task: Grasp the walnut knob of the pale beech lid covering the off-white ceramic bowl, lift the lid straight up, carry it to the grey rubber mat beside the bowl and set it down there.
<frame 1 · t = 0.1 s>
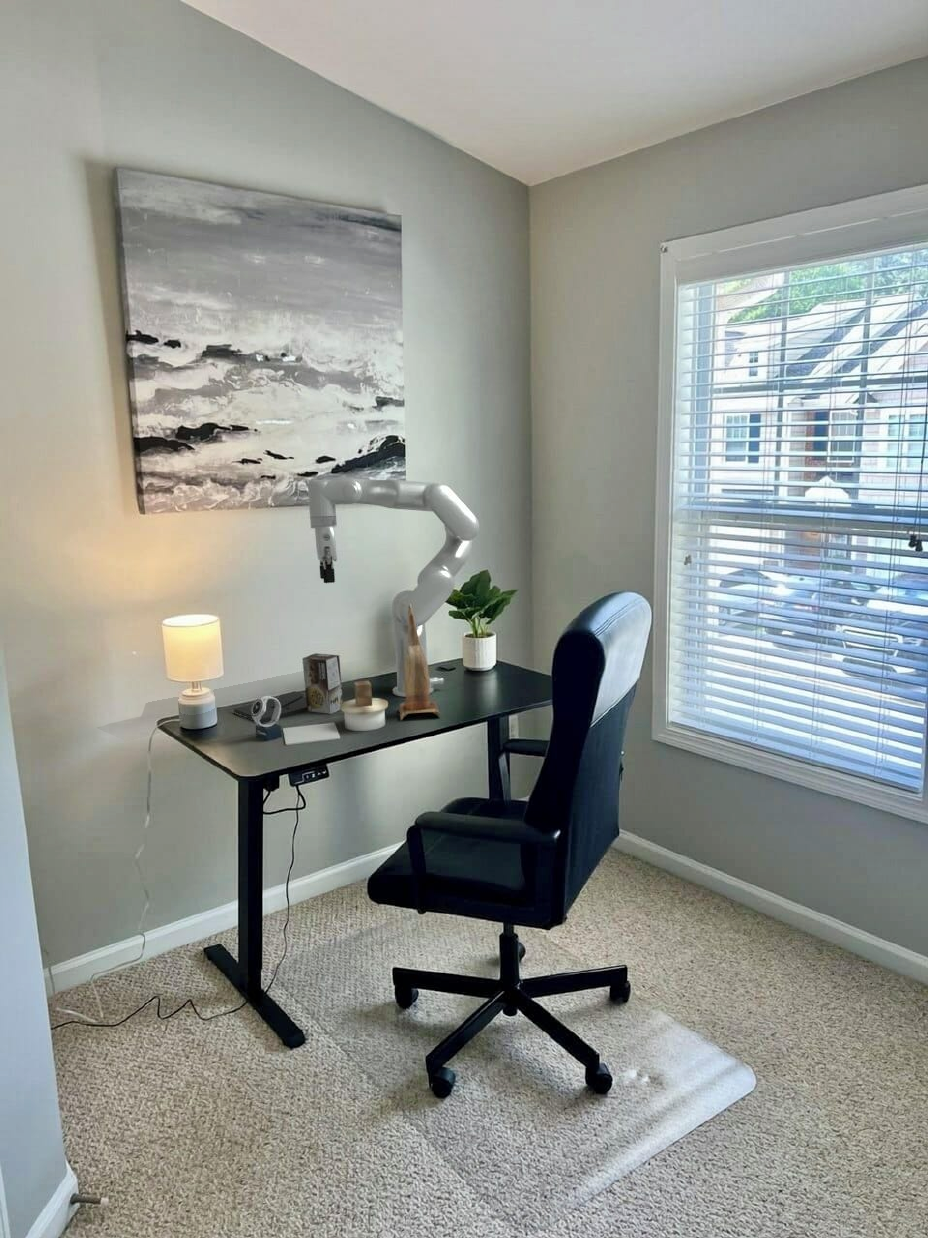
hand: (327, 580, 263), 37 cm above the table, tool pointing down, fingers open, 9 cm apart
watch: (268, 737, 238), on the table
lid: (364, 707, 244), point 5 cm above the table, touching bowl
bowl: (365, 724, 245), on the table
tan tower model: (419, 715, 252), on the table
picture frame: (279, 713, 263), on the table
mat: (311, 734, 238), on the table
coffee box: (325, 710, 261), on the table
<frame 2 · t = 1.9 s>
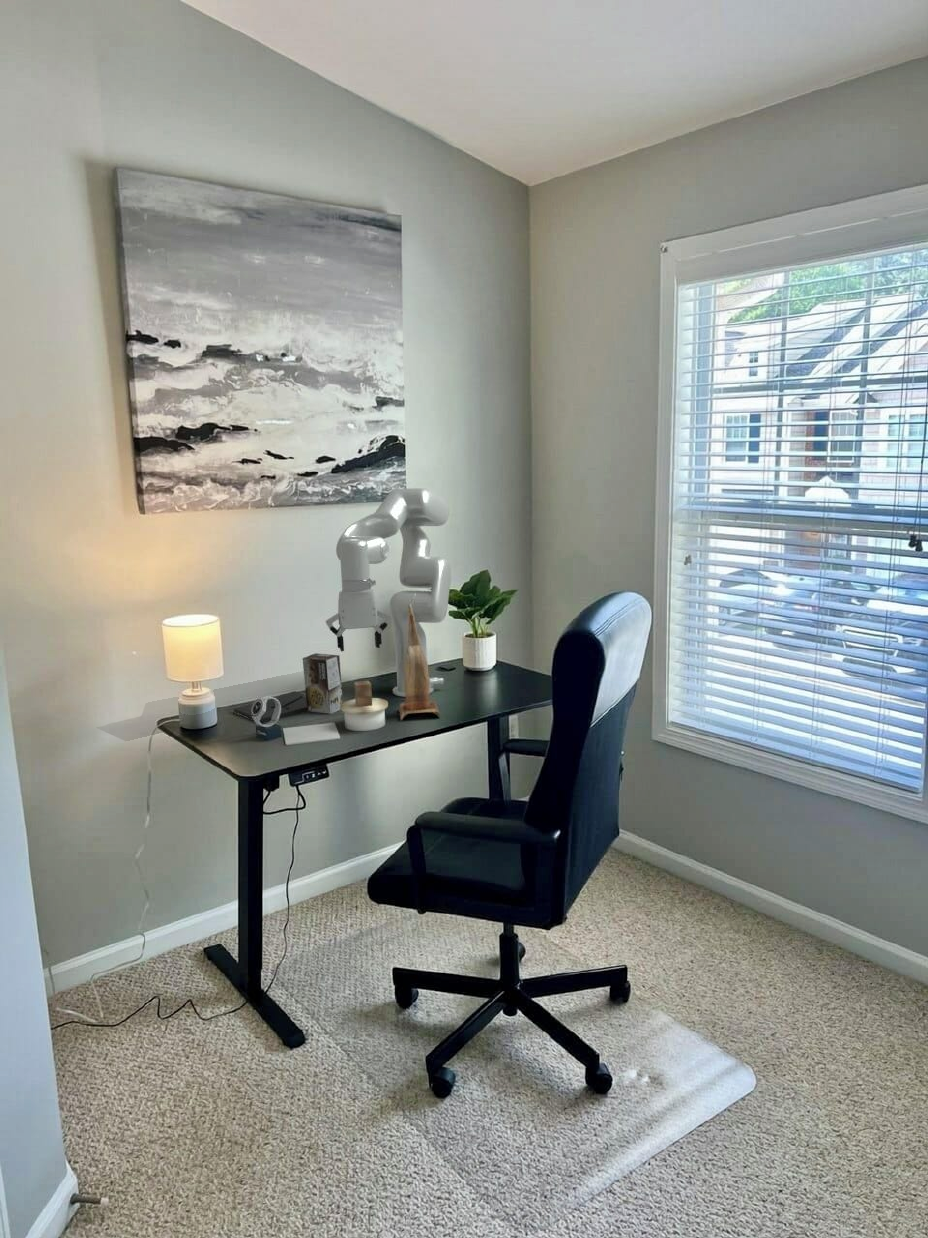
hand: (359, 648, 241), 21 cm above the table, tool pointing down, fingers open, 9 cm apart
nothing on the table moved.
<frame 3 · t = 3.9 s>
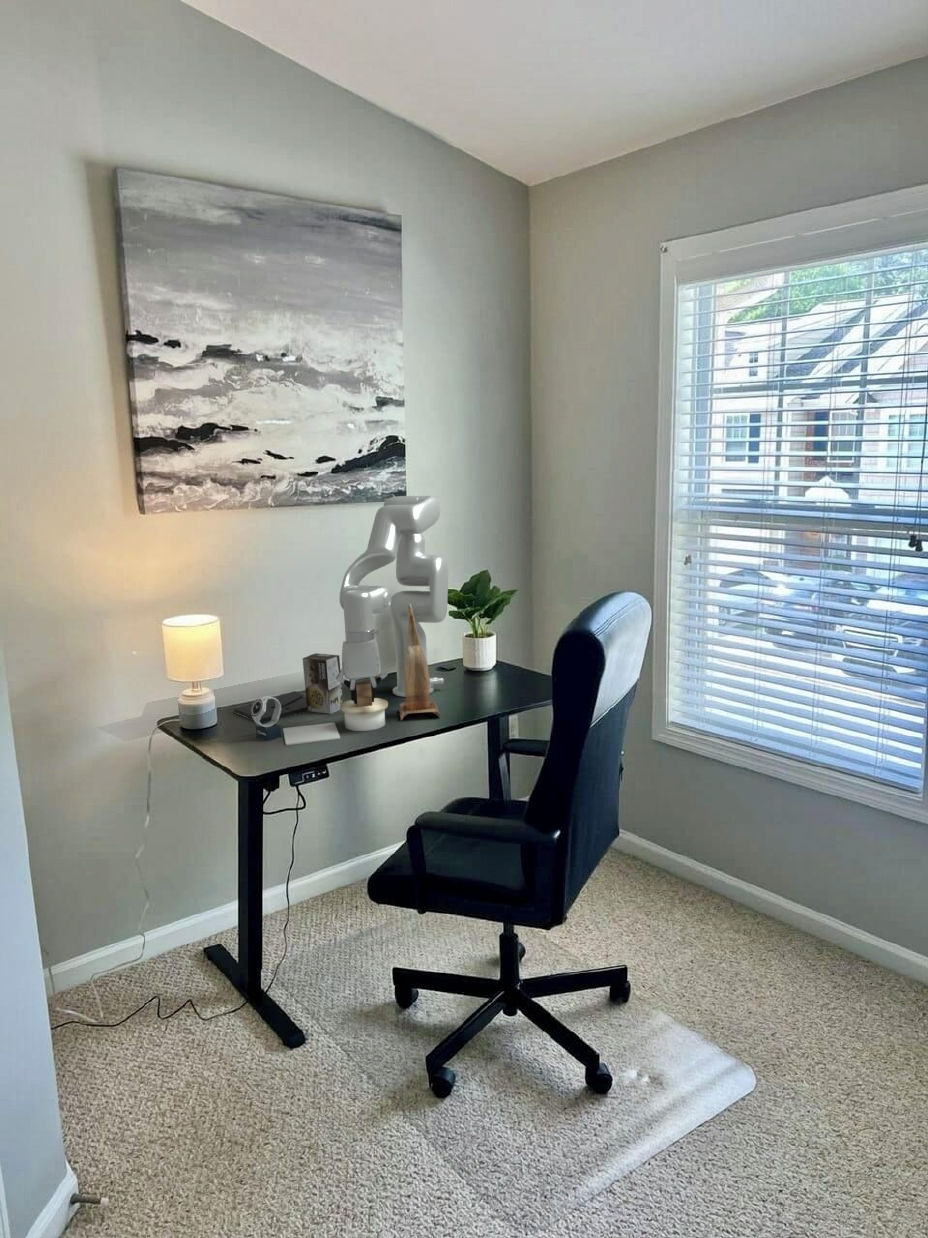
hand: (363, 701, 243), 7 cm above the table, tool pointing down, fingers closed on lid, 4 cm apart
lid: (364, 707, 244), point 5 cm above the table, touching bowl, gripper
everything else where it was.
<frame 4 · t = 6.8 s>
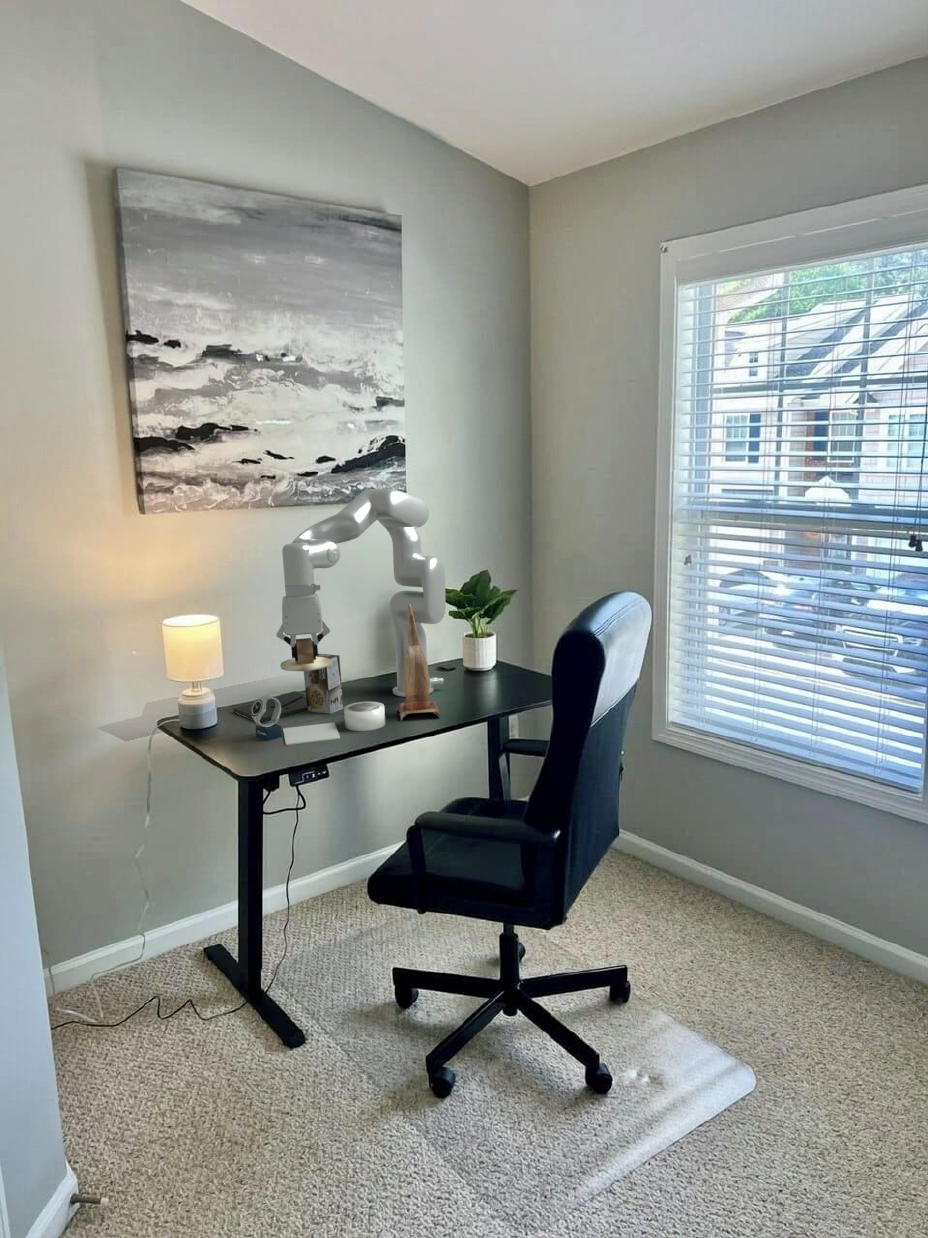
hand: (305, 659, 234), 21 cm above the table, tool pointing down, fingers closed on lid, 4 cm apart
lid: (305, 665, 235), point 19 cm above the table, touching gripper
everything else where it was.
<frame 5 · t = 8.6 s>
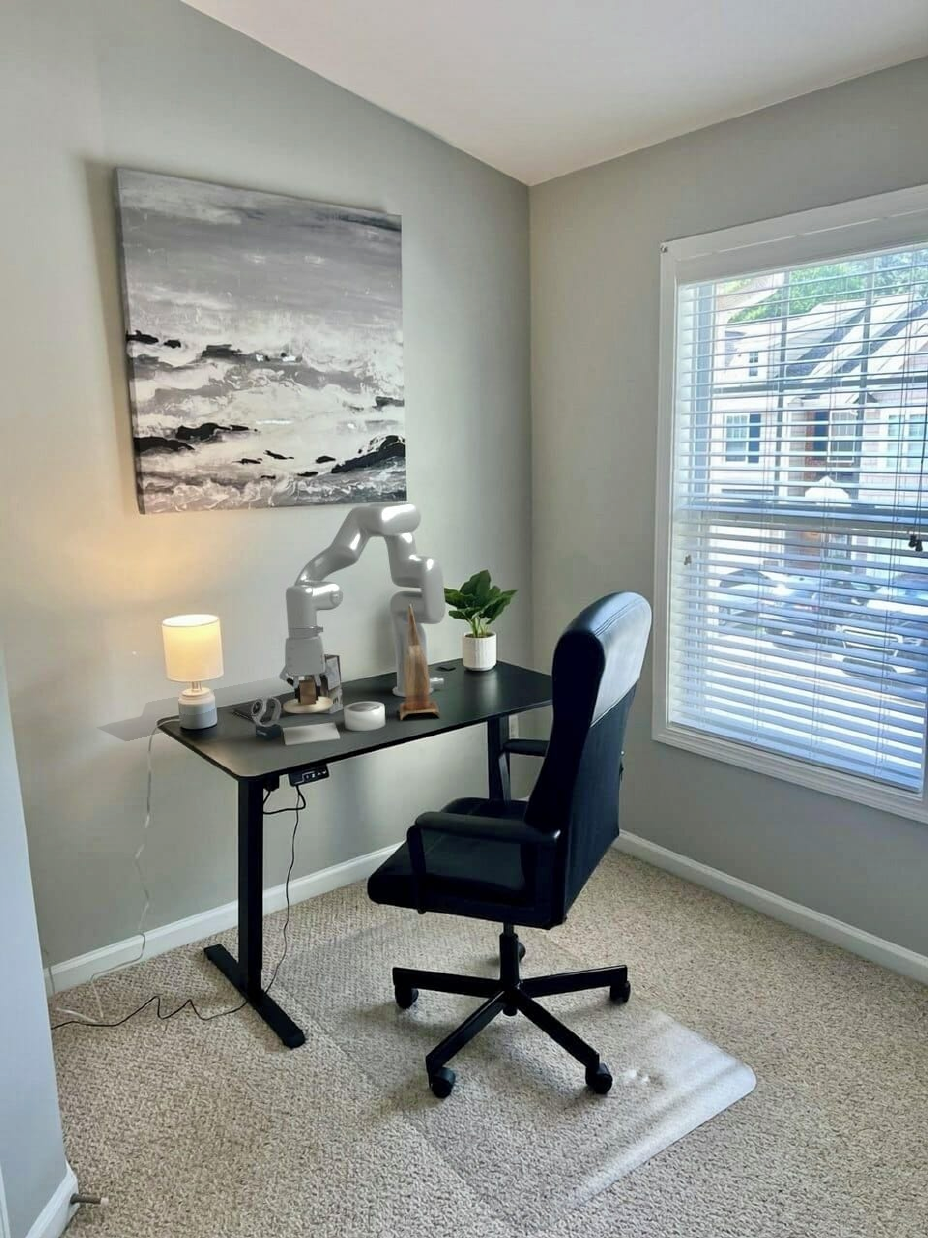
hand: (307, 700, 236), 10 cm above the table, tool pointing down, fingers closed on lid, 4 cm apart
lid: (308, 706, 237), point 8 cm above the table, touching gripper
everything else where it was.
when the fingers open (4 cm above the table, at t = 10.1 s): lid drops 2 cm, resting on mat.
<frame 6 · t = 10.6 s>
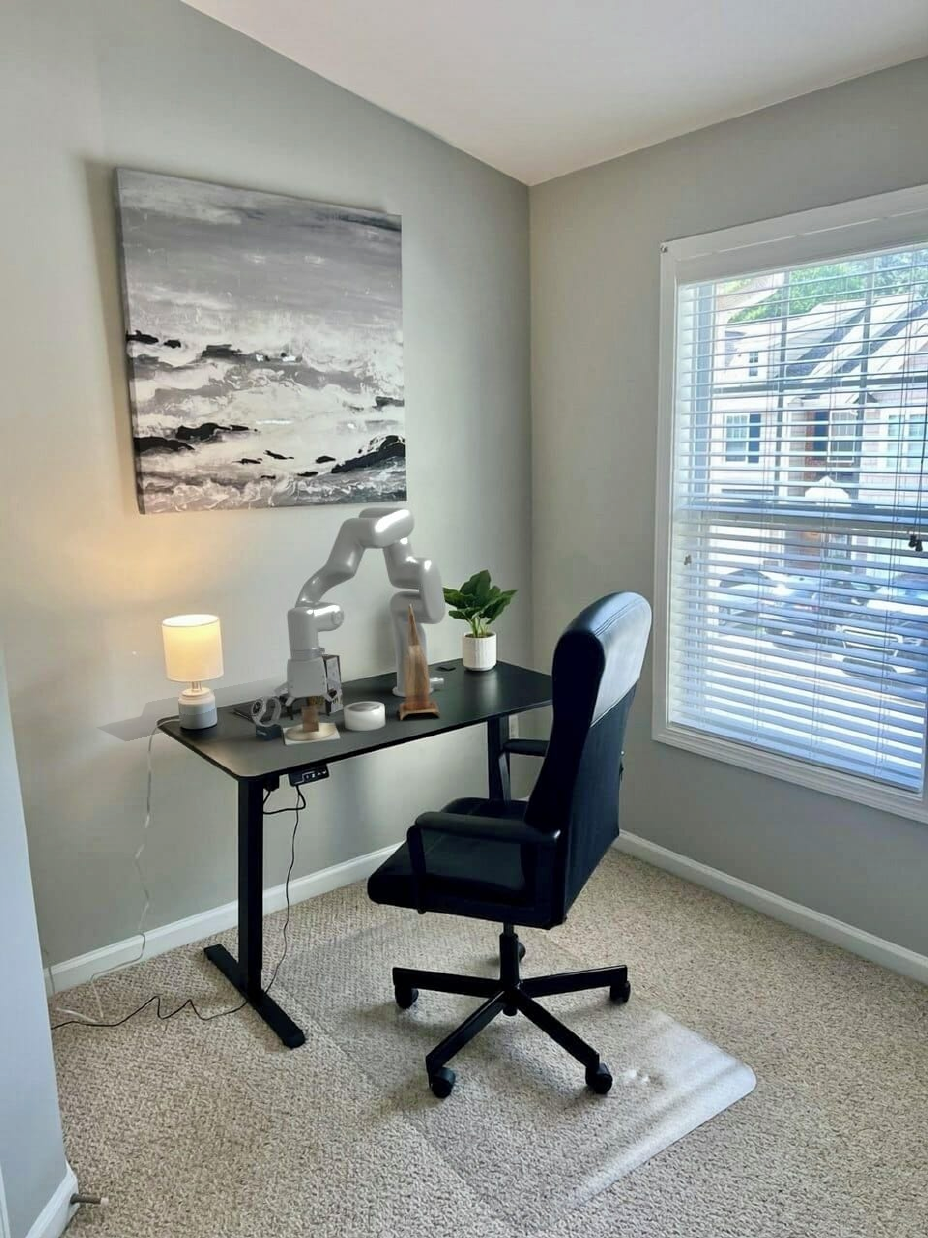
hand: (309, 716, 237), 5 cm above the table, tool pointing down, fingers open, 9 cm apart
lid: (311, 733, 238), resting on mat
everything else where it was.
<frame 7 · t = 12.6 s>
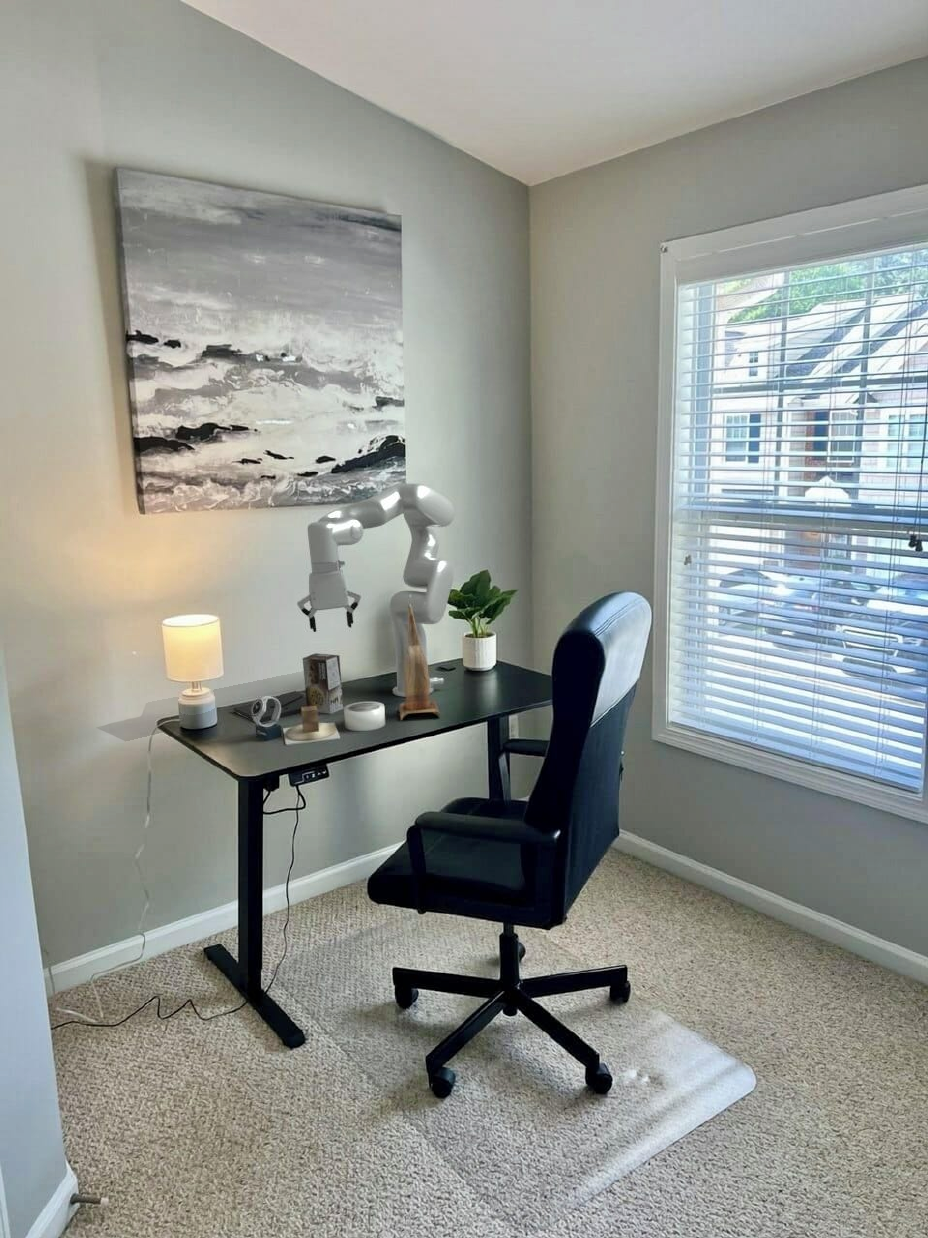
hand: (332, 628, 245), 26 cm above the table, tool pointing down, fingers open, 9 cm apart
nothing on the table moved.
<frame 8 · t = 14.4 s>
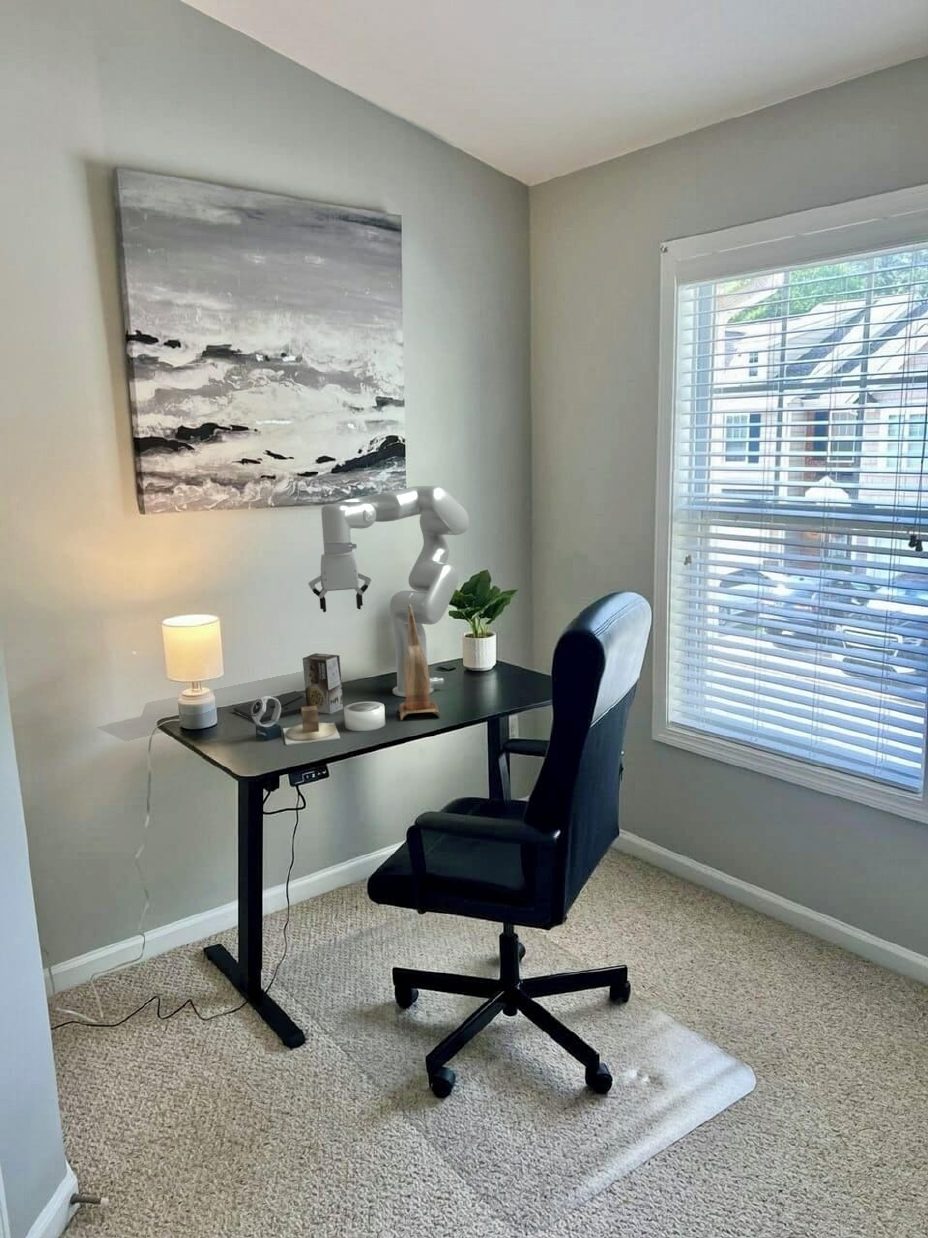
hand: (341, 610, 250), 30 cm above the table, tool pointing down, fingers open, 9 cm apart
nothing on the table moved.
at the end: lid inside the target area on the mat (0.0 cm from its centre), point 0.4 cm above the mat's base; lid touching mat; lid tilted 0° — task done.
